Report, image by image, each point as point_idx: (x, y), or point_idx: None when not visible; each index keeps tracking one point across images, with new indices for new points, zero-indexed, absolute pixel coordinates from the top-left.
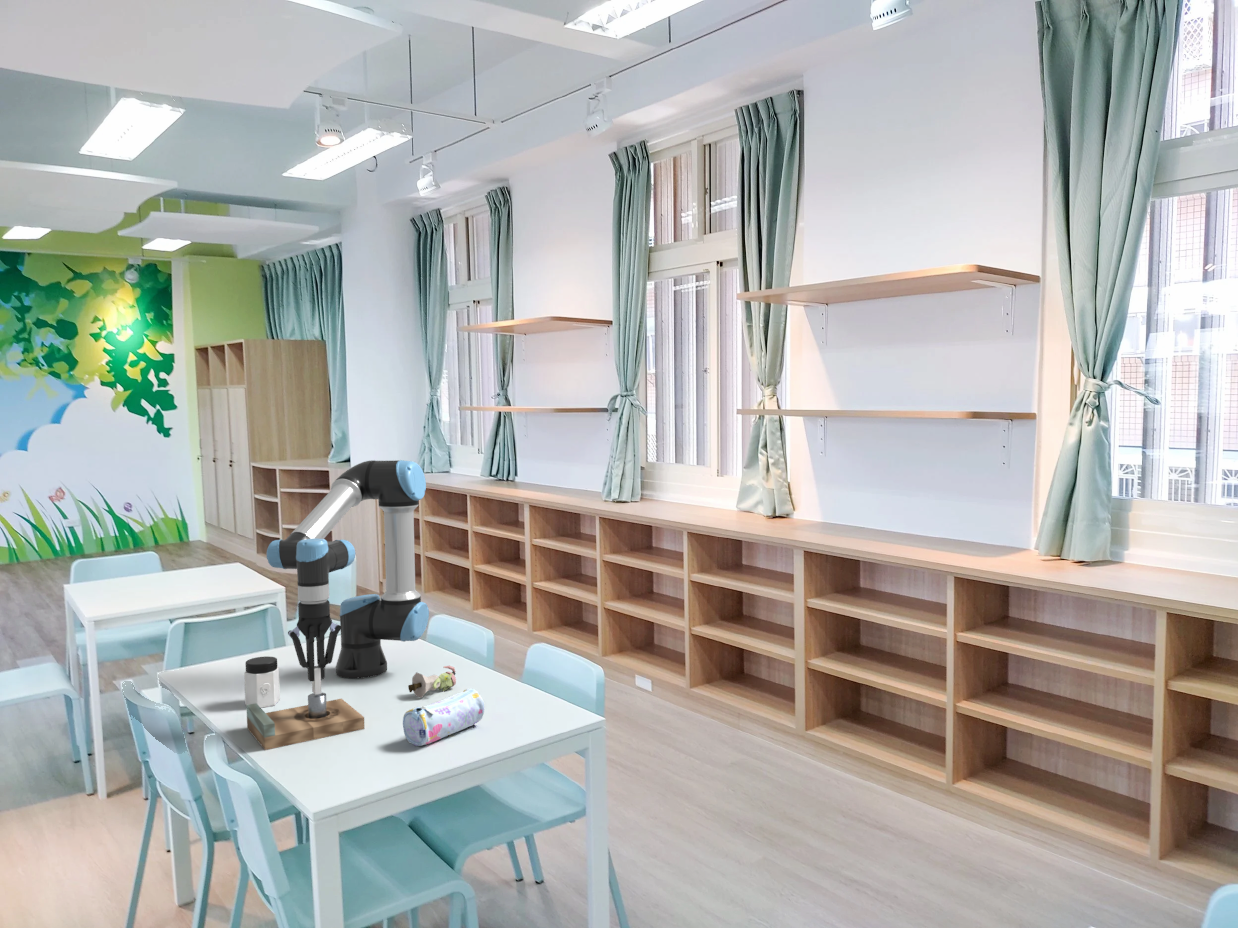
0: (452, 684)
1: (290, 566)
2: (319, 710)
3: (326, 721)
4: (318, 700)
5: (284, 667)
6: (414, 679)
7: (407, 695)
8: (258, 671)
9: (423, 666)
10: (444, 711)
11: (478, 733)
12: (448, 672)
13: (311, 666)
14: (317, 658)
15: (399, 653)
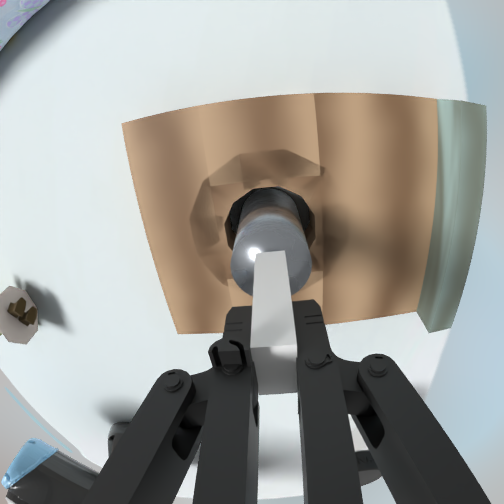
0: None
1: None
2: (269, 207)
3: (254, 136)
4: (273, 223)
5: (258, 479)
6: (22, 335)
7: (51, 318)
8: (368, 454)
9: (63, 411)
10: None
11: None
12: None
13: (323, 359)
14: (257, 432)
15: (107, 454)
